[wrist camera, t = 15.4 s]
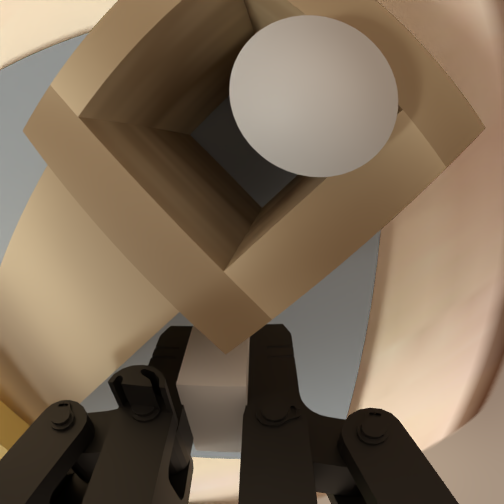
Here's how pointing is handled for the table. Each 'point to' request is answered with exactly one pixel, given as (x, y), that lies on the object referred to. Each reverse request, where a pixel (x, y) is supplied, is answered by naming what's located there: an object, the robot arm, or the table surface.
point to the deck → (253, 178)
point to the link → (188, 193)
